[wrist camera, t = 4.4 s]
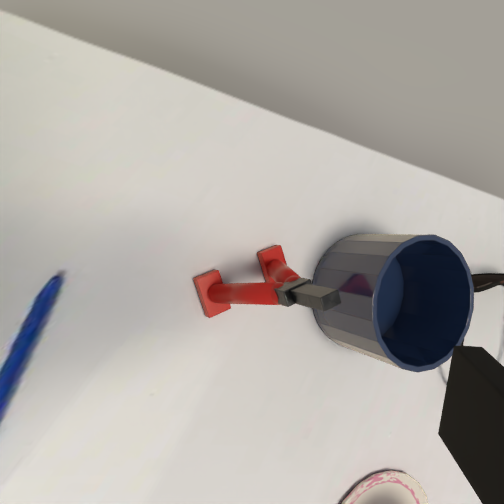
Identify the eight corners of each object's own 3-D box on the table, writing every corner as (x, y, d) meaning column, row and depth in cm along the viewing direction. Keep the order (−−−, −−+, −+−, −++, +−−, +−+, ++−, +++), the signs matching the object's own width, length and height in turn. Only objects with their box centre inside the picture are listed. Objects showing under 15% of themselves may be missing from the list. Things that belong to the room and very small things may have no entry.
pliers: (192, 278, 32) (265, 300, 22) (276, 244, 35) (375, 250, 25) (205, 316, 33) (282, 355, 23) (286, 280, 36) (388, 300, 25)
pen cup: (297, 257, 36) (357, 263, 29) (387, 219, 40) (458, 216, 33) (329, 366, 38) (392, 395, 31) (412, 319, 42) (484, 337, 35)
